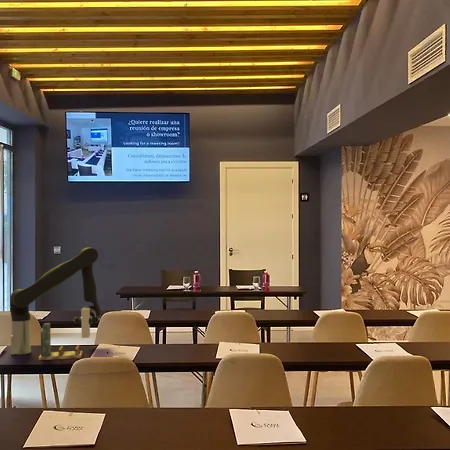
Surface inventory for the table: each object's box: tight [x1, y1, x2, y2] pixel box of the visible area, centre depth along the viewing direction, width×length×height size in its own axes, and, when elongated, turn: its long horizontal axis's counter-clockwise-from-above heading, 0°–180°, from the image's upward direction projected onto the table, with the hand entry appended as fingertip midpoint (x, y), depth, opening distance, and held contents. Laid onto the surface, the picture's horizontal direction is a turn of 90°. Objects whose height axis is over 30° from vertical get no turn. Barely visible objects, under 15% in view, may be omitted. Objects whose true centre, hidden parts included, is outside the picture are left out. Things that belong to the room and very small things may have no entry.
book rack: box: [38, 322, 83, 361], centre depth 281 cm, size 20×10×16 cm, turn 99°
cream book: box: [80, 307, 91, 339], centre depth 281 cm, size 4×6×14 cm, turn 9°
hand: (85, 322), depth 278 cm, fingers closed on cream book, 3 cm apart
